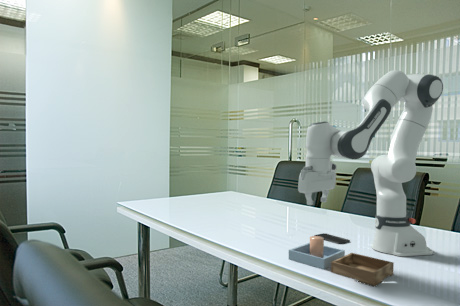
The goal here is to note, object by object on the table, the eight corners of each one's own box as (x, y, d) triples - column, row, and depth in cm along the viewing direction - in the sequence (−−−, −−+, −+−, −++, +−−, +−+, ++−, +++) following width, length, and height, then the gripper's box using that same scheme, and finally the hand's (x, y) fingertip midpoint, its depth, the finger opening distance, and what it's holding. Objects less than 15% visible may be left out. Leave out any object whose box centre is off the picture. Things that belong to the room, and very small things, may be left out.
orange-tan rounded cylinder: (321, 257, 132) (321, 236, 131) (325, 261, 127) (325, 239, 126) (308, 257, 132) (308, 235, 131) (311, 261, 127) (311, 239, 126)
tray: (351, 263, 126) (351, 252, 126) (393, 274, 116) (393, 262, 116) (331, 273, 116) (331, 261, 116) (374, 286, 106) (375, 273, 106)
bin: (310, 252, 139) (310, 242, 139) (344, 261, 129) (344, 250, 129) (288, 260, 129) (288, 249, 129) (323, 271, 119) (324, 259, 119)
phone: (324, 233, 167) (350, 240, 155) (324, 235, 167) (350, 242, 155) (313, 235, 163) (339, 242, 151) (312, 237, 163) (339, 245, 151)
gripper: (309, 167, 119) (308, 207, 119) (339, 165, 133) (338, 201, 133) (294, 166, 123) (293, 205, 124) (324, 164, 138) (323, 199, 138)
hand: (317, 203), depth 129 cm, fingers open, 8 cm apart
